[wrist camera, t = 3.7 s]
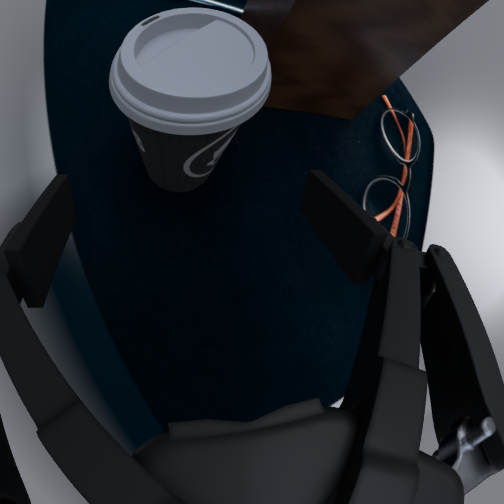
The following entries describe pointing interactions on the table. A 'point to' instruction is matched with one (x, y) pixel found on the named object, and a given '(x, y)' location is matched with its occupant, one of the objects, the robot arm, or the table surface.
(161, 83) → the coffee cup
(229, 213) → the table surface
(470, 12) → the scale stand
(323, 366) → the table surface
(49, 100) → the table surface
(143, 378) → the table surface
